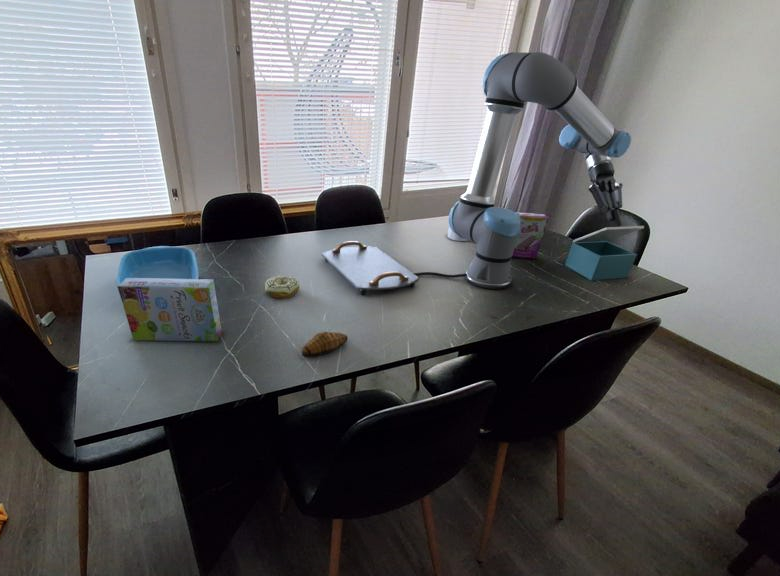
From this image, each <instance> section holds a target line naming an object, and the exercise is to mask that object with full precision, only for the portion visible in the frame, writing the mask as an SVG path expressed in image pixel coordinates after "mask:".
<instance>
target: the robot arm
mask: <svg viewBox="0 0 780 576" xmlns="http://www.w3.org/2000/svg"><path fill="white" fill-rule="evenodd" d="M485 69H486V70H485V72H484V73H483V74H484V75H483V76H482V87H481V88H482V89H483V94H484V96H485V101H484V106H485V108H486V110H487V113H486V116H485V120H484V124H483V127H482V128H483V129H482V132H481V135H480V140H479V144H478V147H477V151H476V155H475V159H474V162H473V166H472V170H471V174H470V178H469V182H468V186H467V189H466V192H465V193H463V194H462V195H461V196H460V198H459V201H457V202H455V203H454V205H453V206H452V207H451V209H450V211H449V214H448V224H449V225H450V228H451V229H452V231H453V232H454V233H456V234H457V235H458V236H460V237H462V238H465V239H467V240H469V241H470V242H471V243H474V244H475V245H477V246H476V250H475V251H476V252H475V255H474V257H473V259H472V261H471V263H470V265H469V267H468V268H467V270H466V272H465V273H459V274H445V273H440V272H433V271H423V272H422V271H421V272H412V273H413V274H414V275H416V276H417V277H418V276H436V277H442V278H448V279H449V278H450V279H453V278H454V279H455V278H465V280H466V281H467V282H468V283H470V284H471V285H473V286H475V287H477V288H478V287H479V288H482V289H486V290H503V289H506V288H508V287H510V286H511V282H512V278H513V277H512V265H511V264H512V263H511V261H512V258H513V257H512V254H513V251H514V247H515V244H516V240H517V236H518V233H519V230H520V223H521V219H520V217H519V215H518V214H517V212H516V211H513V210H511V209H509V208H504V207H500V206H495V204H496V202H495V200H494V198H493V194H494V192H495V189H496V185H497V181H498V178H499V175H500V171H501V167H502V164H503V160H504V157H505V154H506V150H507V147H508V144H509V140H510V136H511V134H512V131H513V126H514V123H515V120H516V116H517V115H518V114H519V113H521V112H522V111H523V110H524V107H525V104H526V103H532V104H537V105H541V106H542V107H544V108H545V109H546V110H547V111H549V112H555V113H556V114H557V115H558V116H560V117H561V119H563V120H564V121H565V122H566V123H567V125H566V126H565V127H563V129H562V130H561V132H560V135H559V137H558V142H559V145H560V146H561V147H562V148H565V149H566V150H567V149H568V150H570V151H571V150H572V151H575V152H578V153H582V154H583V157H584V160H585V161H584V162H585V164H586V168H587V171H588V176H589V180H590V182H591V183H592V184H591V185H590V186H588V187H587V190H588V191H589V193H590V194H591V195H592V197H593V200H594V201H595V203H596V206H597V207H598V210H599V212H602V214H603V215H606V218H607V221H609V222H608V223H609V227H622V223H621V220H620V219H621V217H620V213H619V210H620V209H621V208H623V194H622V192H623V191H622V189H623V186H624V184H623V183H622V182H620V183H618V182H616V181H617V180H616V179H615V178H614V175H615V169H614V168H615V167H614V165H613V162H612V161H613V160H612V158H617V159H618V158H621V157H622V156H623V155H625V154H626V152H627V151H628V149H629V148H630V146H631V143H632V136H631V133H630V132H628V131H624V130H618V129H616V127H615V126H614V125H613V124H612V123H611V122H610V121H609V119H608V118H607V117H605V115H604V113H602V111H600V110H599V108H597V106H596V105H595V104H594V103H593V102H592V100H591V99H590V98H589V97H588V96H587V95H586V94H585V93H584V92H583V91H582V89H580V87H579V81H578V78H577V77H576V76H575V75H574V73H573V71H571V70H570V69H569V68H568V67H567V65H566V66H565V64H564V63H563V62H561V61H560V60H558V58H556V57H554V56H553V55H550V54H548V53H545V52H543V51H542V52H541V51H538V52H537V51H536V52H535V51H534V52H517V51H516V52H507V53H502V54H500V55H498V56H496V57H495V58H494V59H493V60H492V61H491V62H490V63H489V64H488V65H487V68H485ZM449 225H448V226H449ZM469 241H468V242H469Z"/></svg>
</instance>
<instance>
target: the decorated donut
mask: <svg viewBox="0 0 780 576" xmlns="http://www.w3.org/2000/svg"><path fill="white" fill-rule="evenodd" d="M299 288H300V282H299V280H298V279H297V278H294V277H292V276H287V275H286V276H285V275H278V276H273V277H270V278H268V279H267V280H266V282H264V291H265V293H267V294H269V296H271V297H272V298H277V299H286V298H291V297H293V296H294V295H296V294H297V293H298V291H299Z"/></svg>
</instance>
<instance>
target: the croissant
mask: <svg viewBox="0 0 780 576" xmlns="http://www.w3.org/2000/svg"><path fill="white" fill-rule="evenodd" d="M348 338H349V337H348V335H347V334H345V333H341V332H335V331H326V330H324V331H320V332H318V333H316V334H315V335H314V336H313V337H312V338H311V339H310V340H309V341H308V342H307V343H305V344H304V345H303V347H302V349H301V355H302V356H303V357H304V358H305V357H315V356H320V355H323V354H328V353H332V352H333V351H335V350H337V349H338V348H340V347H342V346H343V345H345V343H346V342H347V341H348V340H349V339H348Z"/></svg>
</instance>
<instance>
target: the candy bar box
mask: <svg viewBox="0 0 780 576" xmlns="http://www.w3.org/2000/svg"><path fill="white" fill-rule="evenodd" d="M516 213H517V214H518V215H519V217H520V219H521V223H520V230H519V233H518V236H517V240H516V244H515V247H514V251H513V254H512V258H520V259H531V260H536V258H537V255H538V252H539V250H540V247H541V243H542V240H543V237H544V234H545V231H546V227H547V224H548V221H549V216H547V214H543V213H532V212H520V211H519V212H518V211H517V212H516Z"/></svg>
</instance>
